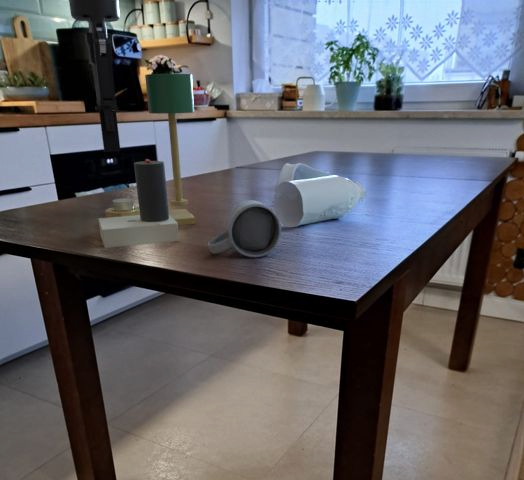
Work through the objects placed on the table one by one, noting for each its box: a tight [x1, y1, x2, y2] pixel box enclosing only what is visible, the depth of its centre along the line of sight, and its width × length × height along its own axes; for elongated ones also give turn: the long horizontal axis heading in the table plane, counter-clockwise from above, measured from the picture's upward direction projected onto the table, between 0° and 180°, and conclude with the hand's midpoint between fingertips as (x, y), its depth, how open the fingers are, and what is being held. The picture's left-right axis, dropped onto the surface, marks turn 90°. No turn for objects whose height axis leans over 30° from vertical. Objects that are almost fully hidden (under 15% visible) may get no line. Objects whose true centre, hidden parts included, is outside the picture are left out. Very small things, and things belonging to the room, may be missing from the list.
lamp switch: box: [112, 198, 134, 212], centre depth 95 cm, size 4×4×2 cm
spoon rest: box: [274, 162, 331, 194], centre depth 127 cm, size 24×12×7 cm, turn 160°
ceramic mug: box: [207, 199, 282, 258], centre depth 78 cm, size 11×8×8 cm
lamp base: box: [105, 205, 197, 226], centre depth 98 cm, size 16×9×3 cm, turn 110°
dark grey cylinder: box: [133, 158, 169, 222], centre depth 85 cm, size 5×5×9 cm
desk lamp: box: [144, 73, 195, 207], centre depth 94 cm, size 8×8×22 cm
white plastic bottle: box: [271, 174, 367, 228], centre depth 97 cm, size 8×19×8 cm, turn 128°
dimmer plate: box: [97, 215, 181, 249], centre depth 87 cm, size 14×9×3 cm, turn 110°
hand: (112, 151), depth 91 cm, fingers closed
